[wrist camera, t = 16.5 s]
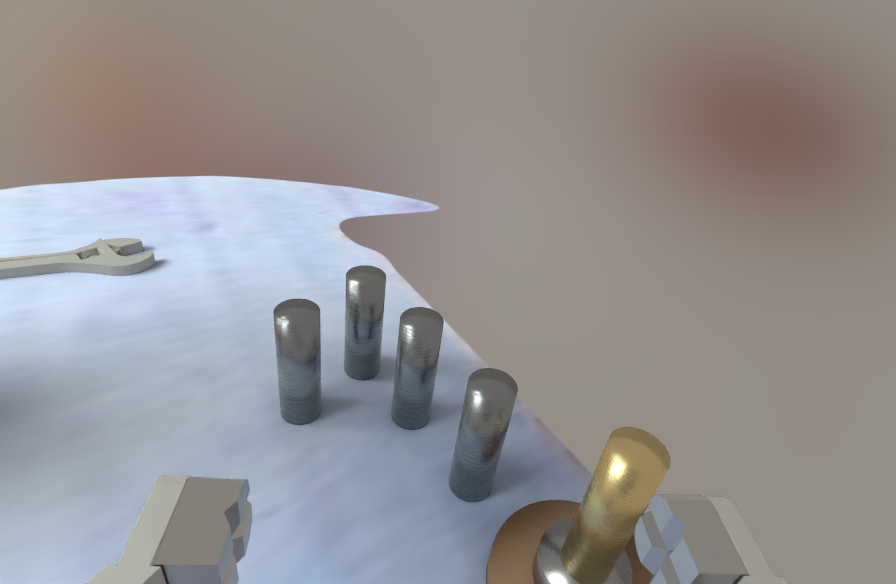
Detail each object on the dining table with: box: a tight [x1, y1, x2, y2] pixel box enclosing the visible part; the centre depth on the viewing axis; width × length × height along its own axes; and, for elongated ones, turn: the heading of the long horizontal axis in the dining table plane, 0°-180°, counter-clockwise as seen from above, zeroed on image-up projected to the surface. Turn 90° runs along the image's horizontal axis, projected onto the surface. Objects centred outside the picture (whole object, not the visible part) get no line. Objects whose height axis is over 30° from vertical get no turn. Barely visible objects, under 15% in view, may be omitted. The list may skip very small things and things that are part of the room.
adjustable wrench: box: [0, 238, 155, 279], centre depth 54 cm, size 25×6×2 cm, turn 111°
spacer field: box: [274, 266, 518, 502], centre depth 41 cm, size 15×17×10 cm
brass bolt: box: [532, 427, 670, 584], centre depth 29 cm, size 6×6×12 cm
